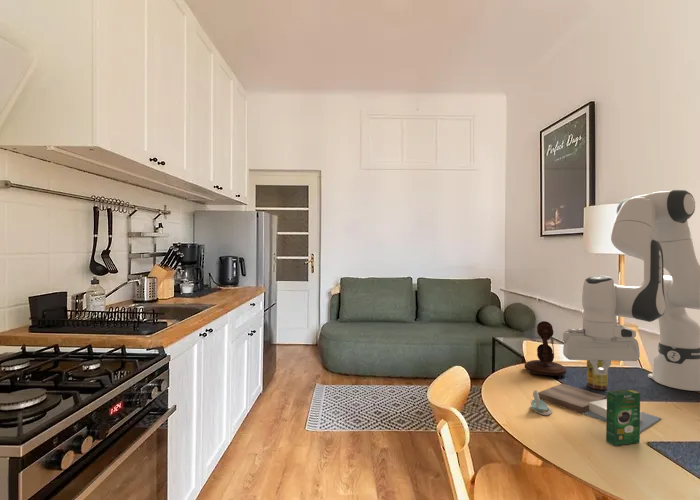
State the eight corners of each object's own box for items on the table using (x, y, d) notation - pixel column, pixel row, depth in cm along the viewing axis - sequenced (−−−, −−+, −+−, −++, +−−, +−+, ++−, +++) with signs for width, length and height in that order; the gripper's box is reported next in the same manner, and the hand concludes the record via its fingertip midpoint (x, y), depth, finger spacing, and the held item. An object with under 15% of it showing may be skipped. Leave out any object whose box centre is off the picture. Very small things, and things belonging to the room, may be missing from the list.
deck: (562, 389, 134) (562, 383, 134) (606, 402, 123) (606, 396, 122) (537, 398, 126) (537, 392, 126) (582, 413, 114) (582, 407, 114)
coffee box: (630, 437, 100) (630, 387, 100) (641, 443, 97) (641, 391, 97) (605, 441, 98) (605, 390, 98) (615, 447, 95) (615, 394, 95)
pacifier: (553, 409, 118) (531, 405, 121) (553, 389, 118) (532, 385, 121) (550, 418, 112) (528, 413, 115) (551, 397, 112) (529, 393, 115)
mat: (607, 402, 122) (607, 401, 122) (661, 419, 111) (661, 417, 111) (583, 414, 114) (583, 413, 114) (639, 433, 102) (639, 431, 102)
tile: (608, 406, 118) (608, 398, 118) (641, 420, 109) (641, 411, 109) (588, 410, 116) (588, 402, 116) (621, 424, 106) (621, 415, 106)
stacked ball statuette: (567, 381, 142) (567, 327, 142) (524, 376, 148) (524, 324, 148) (564, 370, 155) (564, 320, 155) (524, 365, 162) (524, 318, 161)
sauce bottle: (585, 383, 140) (585, 329, 140) (606, 385, 137) (606, 330, 137) (588, 389, 134) (587, 332, 134) (609, 392, 131) (609, 334, 131)
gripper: (566, 331, 116) (567, 376, 116) (642, 331, 112) (643, 378, 113) (559, 326, 122) (560, 369, 122) (630, 327, 119) (631, 371, 119)
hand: (600, 374), depth 117 cm, fingers closed
